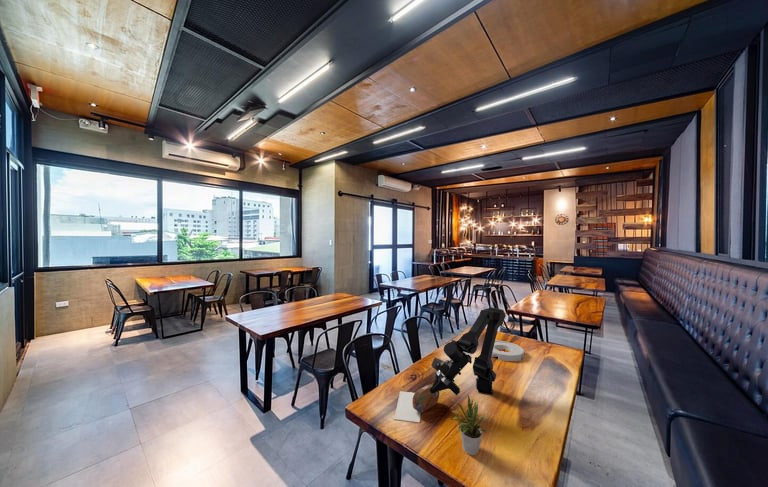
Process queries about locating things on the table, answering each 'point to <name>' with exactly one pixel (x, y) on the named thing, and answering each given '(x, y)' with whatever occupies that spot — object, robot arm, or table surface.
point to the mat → (406, 408)
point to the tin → (424, 398)
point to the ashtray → (513, 355)
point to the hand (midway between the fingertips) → (431, 392)
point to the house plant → (470, 428)
